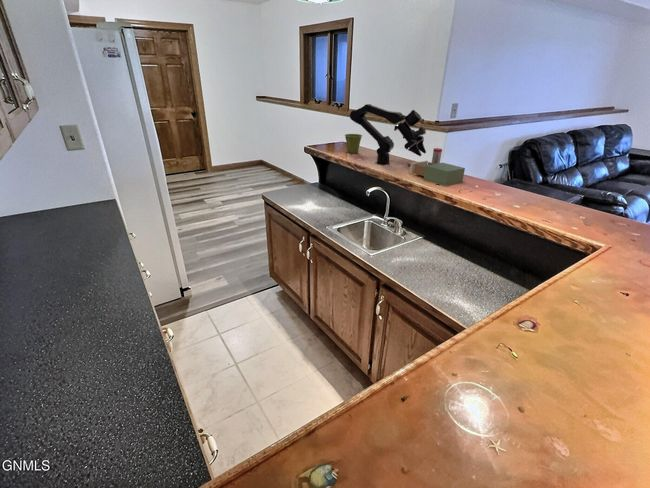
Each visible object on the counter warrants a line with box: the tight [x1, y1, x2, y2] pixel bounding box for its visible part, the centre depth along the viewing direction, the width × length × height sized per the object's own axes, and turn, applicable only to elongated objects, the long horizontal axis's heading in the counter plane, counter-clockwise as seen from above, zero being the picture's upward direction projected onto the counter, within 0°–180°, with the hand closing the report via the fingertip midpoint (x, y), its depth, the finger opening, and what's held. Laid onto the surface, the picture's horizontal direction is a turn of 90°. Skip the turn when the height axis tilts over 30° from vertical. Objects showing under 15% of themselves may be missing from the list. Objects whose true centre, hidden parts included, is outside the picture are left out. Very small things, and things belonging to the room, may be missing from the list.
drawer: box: [407, 160, 435, 177], centre depth 185 cm, size 17×12×5 cm
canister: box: [431, 147, 443, 164], centre depth 193 cm, size 5×5×12 cm
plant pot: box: [344, 133, 363, 154], centre depth 234 cm, size 12×12×11 cm
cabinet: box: [423, 162, 466, 187], centre depth 176 cm, size 14×14×7 cm
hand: (423, 154), depth 195 cm, fingers open, 9 cm apart
